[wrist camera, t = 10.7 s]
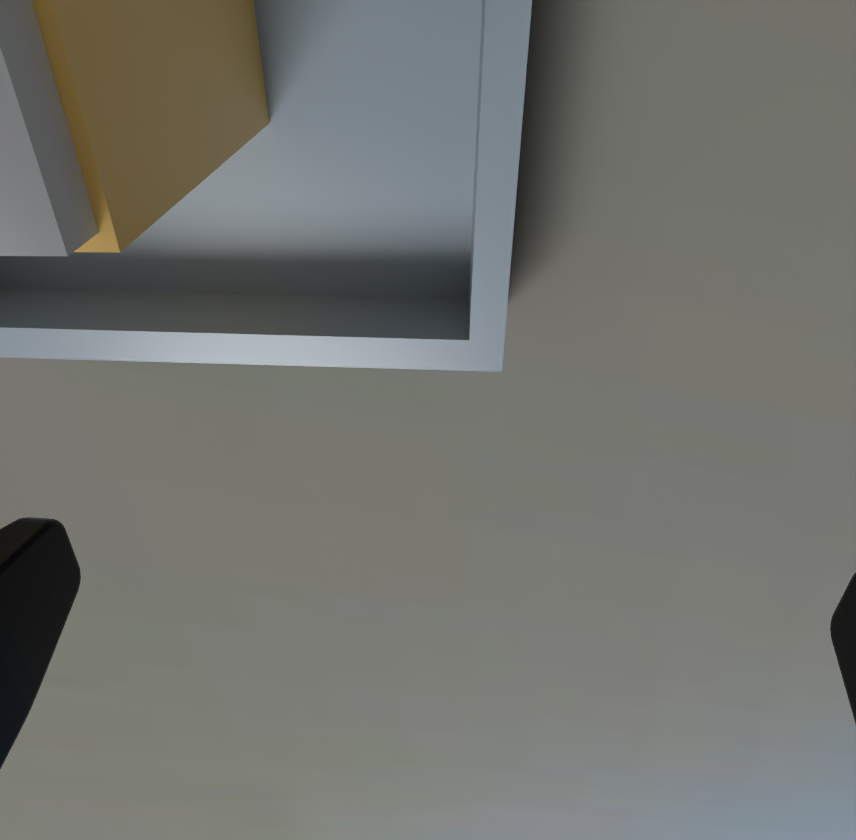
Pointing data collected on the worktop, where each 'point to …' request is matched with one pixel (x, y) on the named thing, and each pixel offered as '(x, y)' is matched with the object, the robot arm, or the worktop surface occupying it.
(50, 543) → the robot arm
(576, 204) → the worktop surface
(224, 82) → the block
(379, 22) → the parts tray
